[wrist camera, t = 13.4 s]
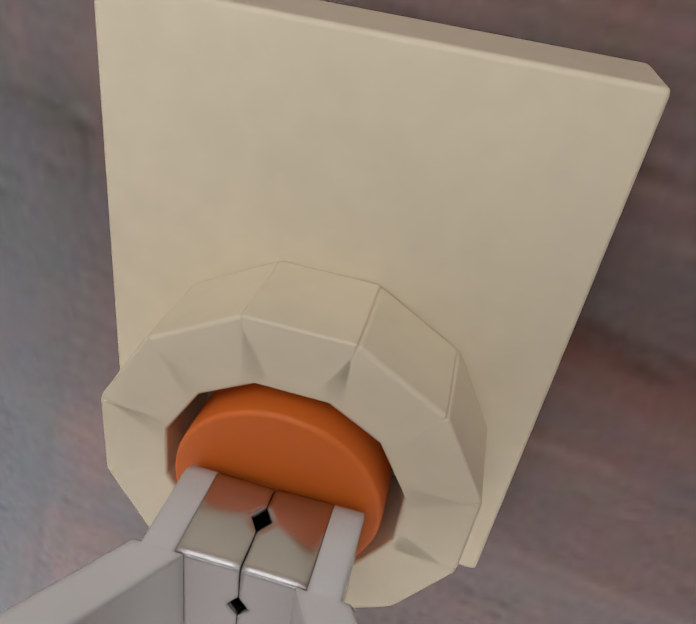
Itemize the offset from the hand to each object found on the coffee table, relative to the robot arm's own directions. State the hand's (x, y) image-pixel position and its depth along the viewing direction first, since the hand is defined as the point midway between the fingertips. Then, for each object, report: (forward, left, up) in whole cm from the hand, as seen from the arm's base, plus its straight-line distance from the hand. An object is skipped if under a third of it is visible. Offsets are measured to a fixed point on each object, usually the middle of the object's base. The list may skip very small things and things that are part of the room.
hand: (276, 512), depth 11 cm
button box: (-2, 0, -4) cm, 4 cm away
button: (0, 0, -2) cm, 2 cm away
